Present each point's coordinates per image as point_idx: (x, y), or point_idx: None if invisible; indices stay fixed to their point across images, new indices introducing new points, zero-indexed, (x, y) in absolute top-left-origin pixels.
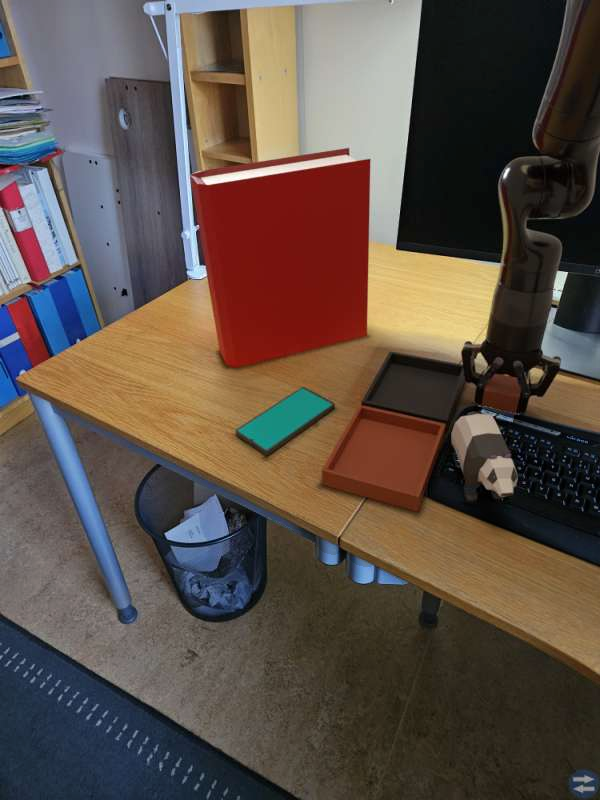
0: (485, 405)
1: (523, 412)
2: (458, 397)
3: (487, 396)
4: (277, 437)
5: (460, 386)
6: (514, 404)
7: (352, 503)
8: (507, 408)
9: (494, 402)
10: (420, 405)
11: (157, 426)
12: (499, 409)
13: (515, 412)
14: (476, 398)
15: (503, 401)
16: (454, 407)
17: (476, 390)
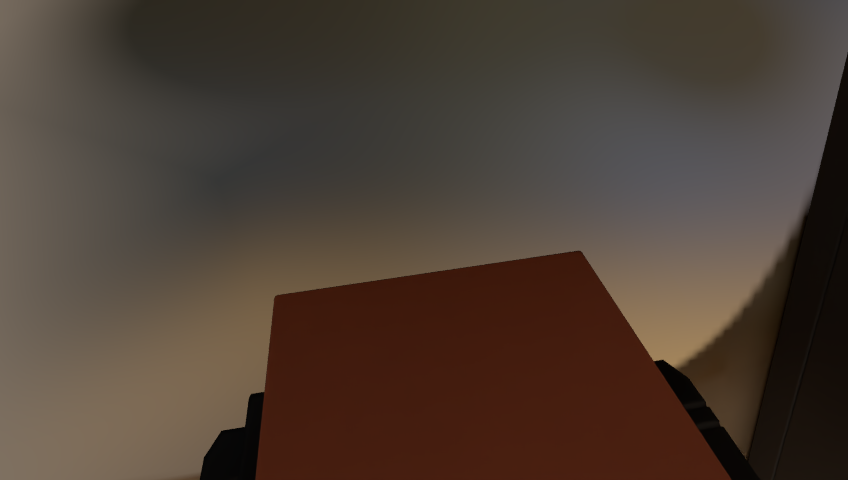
0: (598, 342)
1: (226, 436)
2: (775, 375)
3: (649, 442)
4: None
5: (835, 469)
6: (295, 468)
7: None
8: (363, 396)
9: (528, 405)
10: None
11: None
12: (441, 356)
13: (269, 387)
14: (683, 401)
15: (435, 455)
16: (829, 237)
17: (749, 478)
